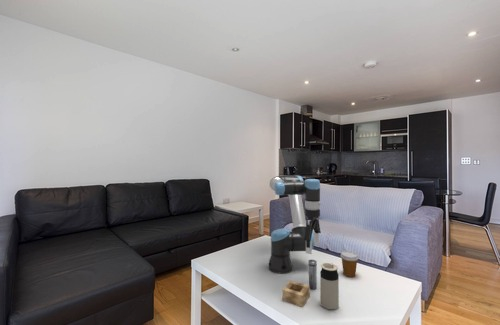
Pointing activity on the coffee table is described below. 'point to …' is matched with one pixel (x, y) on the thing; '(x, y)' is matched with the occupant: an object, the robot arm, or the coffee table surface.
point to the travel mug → (329, 286)
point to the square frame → (296, 293)
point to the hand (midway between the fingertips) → (312, 249)
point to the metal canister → (313, 274)
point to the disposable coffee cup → (349, 263)
